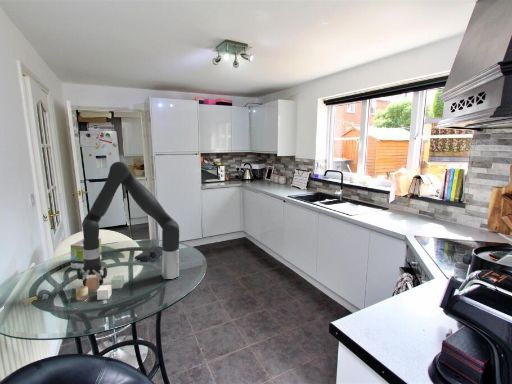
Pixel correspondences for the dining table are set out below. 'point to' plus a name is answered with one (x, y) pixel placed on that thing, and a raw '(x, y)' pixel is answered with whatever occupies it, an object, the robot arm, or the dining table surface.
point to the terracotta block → (92, 283)
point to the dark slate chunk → (150, 254)
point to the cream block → (104, 292)
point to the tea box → (79, 254)
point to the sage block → (117, 281)
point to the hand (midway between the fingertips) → (93, 285)
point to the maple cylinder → (81, 293)
